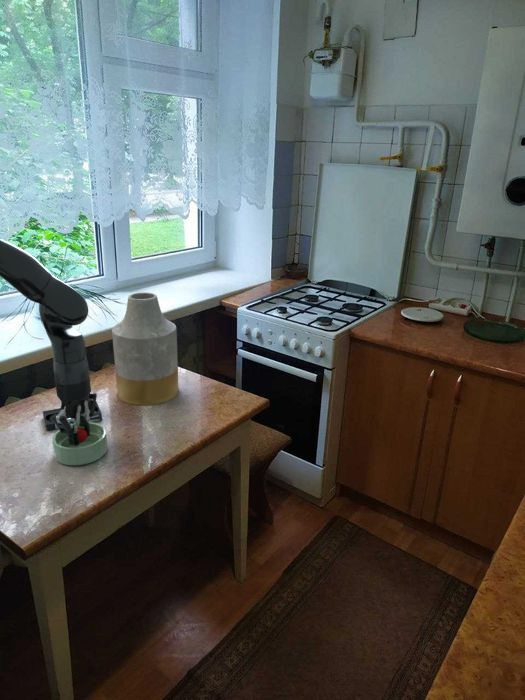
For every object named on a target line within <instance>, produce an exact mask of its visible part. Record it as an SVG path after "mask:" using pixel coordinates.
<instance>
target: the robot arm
mask: <svg viewBox="0 0 525 700" xmlns="http://www.w3.org/2000/svg"><path fill="white" fill-rule="evenodd" d="M0 278H1V279H3V280H4V281H5V282H6V283H8V285H10V286H11V287H12V288H14V289H15V290H16V292H18V293H20V294H21V295H22V296H23V297H25V298H26V299H27V300H29V301H31V302H34V303H36V304H38V313H39V317H40V320H41V323H42V325H43V328H44V331H45V333H46V335H47V337H48V339H49V341H50V345H51V353H52V360H53V364H52V365H53V367H52V368H53V369H52V370H53V379H54V384H55V391H56V396H57V398H58V399H59V401H60V402H61V404H60V408H61V411H60V413H59V414H58V415H54V416H53V420H54V422H55V423H56V425H57V427H58V429H57V430H59V431H60V432H61V433H65V434H68V438H69V443H70V444H71V445H74V446H78V445H79V444H80V443H79V435H78V423H79V422H80V421H81V422H80V423H79V426H83V427H85V429H84V430H85V431H86V432H87V437H88V436H90V427H89V422H90V418H91V417H94V413H95V405H96V401H97V396H98V394H97V393H96V392H92V386H91V376H90V367H89V362H88V358H87V351H86V341H85V337H84V335H83V333H82V332H80V331H78V330H77V329H75V328H74V326H78V325H81V324H82V323H84V322H85V321H86V320H87V318H88V316H89V305H88V302H87V300H86V299H85V298H84V295H82V294H81V293H80V292H78V290H76V289H74V288H73V287H71V286H70V285H69V284H67V283H65V282H64V281H62V280H61V279H59V278H58V277H56V276H55V275H54V274H53V273H52V272H51V271H50V270H49V269H48V268H47V267H45V266H44V264H42V263H41V262H40V261H39V260H38V259H37V258H36V257H34V256H33V255H32V254H31V253H30V252H28V251H26V250H25V249H23V248H22V247H19V246H17V245H15V244H13V243H11V242H9V241H7V240H5V239H3V238H0ZM88 407H91V410H90V411H89V408H88ZM71 418H75V419H71ZM71 424H73V427H70V426H71Z"/></svg>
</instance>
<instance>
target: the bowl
mask: <svg viewBox="0 0 525 700" xmlns="http://www.w3.org/2000/svg"><path fill="white" fill-rule="evenodd" d="M78 426H79V423H78ZM70 427H73V424H71V426H70ZM89 427H90V436H88V437H87V438H86V440H85V441H84V442H82V443H80V444H79V445H78V446H74V445H71V444H70V443H69V438H68V434H65V433H61V432H60V431H59V429H57V430H56V431H55V432H54V434H53V435H52V437H51V438H52V439H51V443H52V450H53V456H54V458H55V460H56V461H57V462H59V463H60V464H62V465H65V466H82V465H88V464H90V463H93V462H96V461H98V460H100V459H101V458H102V457H103V456H104V455H106V454H107V451H108V449H109V448H108V447H109V446H108V438H107V437H108V436H107V429H106V428H105V427H104V425H102V424H100V423H97V422H89Z"/></svg>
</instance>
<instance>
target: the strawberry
mask: <svg viewBox="0 0 525 700" xmlns="http://www.w3.org/2000/svg"><path fill="white" fill-rule="evenodd" d="M84 429H85V427H83V426H78V435H79V443H82V442H84V441H85V440H86V438H87V432H86V431H85V430H84Z"/></svg>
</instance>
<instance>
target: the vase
mask: <svg viewBox="0 0 525 700" xmlns="http://www.w3.org/2000/svg"><path fill="white" fill-rule="evenodd" d="M177 332H178V331H177V326H176V324H175V323H174V322H172V321H170V320H168V319H167V318H166V317H165V316H164V315H163V312H162V310H161V306H160V304H159V299H158V296H157V294H156V293H153V292H134V293H131V294H129V295H128V297H127V302H126V310H125V314H124V317H123V319H122V320H121V321H119V322H118V323H116V324H115V325H114V326H113V327H112V329H111V335H112V346H113V347H112V349H113V359H114V369H115V380H116V391H117V392H116V393H117V397H118V399H119V400H120V401H122V402H123V403H125V404H129V405H133V406H142V407H147V406H148V407H149V406H155V405H161V404H164V403H166V402H169V401H171V400H173V399H174V398H175V397H177V395H178V394H179V391H180V390H179V388H180V385H179V363H178V361H179V359H178V335H177Z"/></svg>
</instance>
